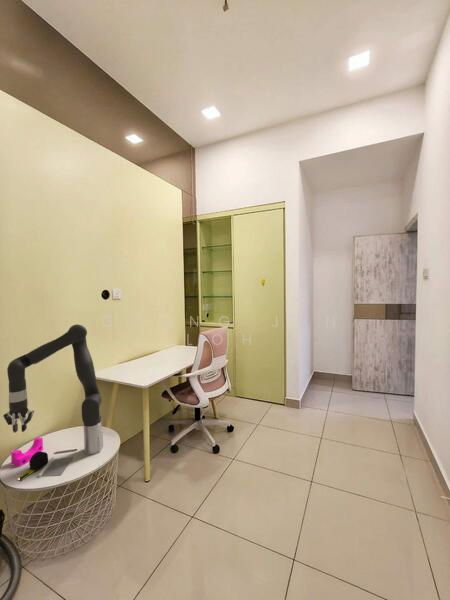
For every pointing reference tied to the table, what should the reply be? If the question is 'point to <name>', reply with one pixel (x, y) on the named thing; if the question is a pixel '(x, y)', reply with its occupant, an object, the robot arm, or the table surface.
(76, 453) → the table surface
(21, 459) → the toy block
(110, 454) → the table surface
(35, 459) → the tape measure
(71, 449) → the table surface
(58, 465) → the mat
